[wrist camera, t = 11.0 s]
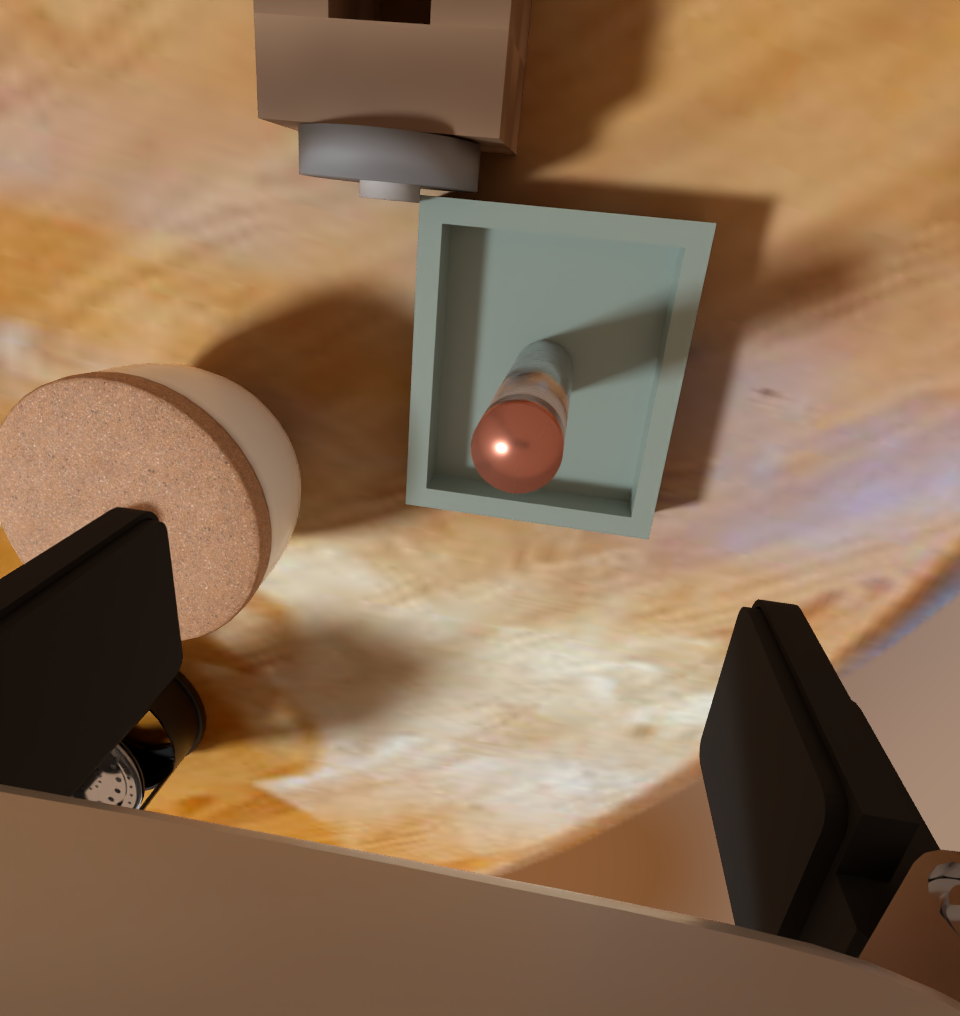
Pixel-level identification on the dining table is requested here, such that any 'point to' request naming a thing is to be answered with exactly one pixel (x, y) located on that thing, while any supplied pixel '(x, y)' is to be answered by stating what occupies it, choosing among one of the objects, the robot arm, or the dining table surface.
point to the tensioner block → (393, 89)
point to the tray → (567, 321)
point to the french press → (148, 751)
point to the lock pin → (526, 421)
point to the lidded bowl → (156, 476)
